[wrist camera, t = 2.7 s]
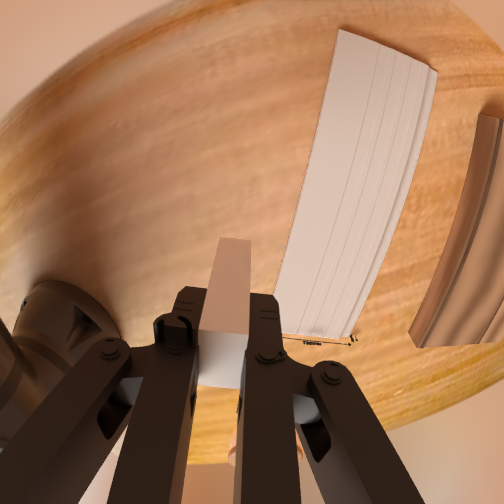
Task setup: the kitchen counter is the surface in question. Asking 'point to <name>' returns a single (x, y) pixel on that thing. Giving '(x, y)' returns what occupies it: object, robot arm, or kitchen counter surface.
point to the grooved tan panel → (471, 255)
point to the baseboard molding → (353, 185)
